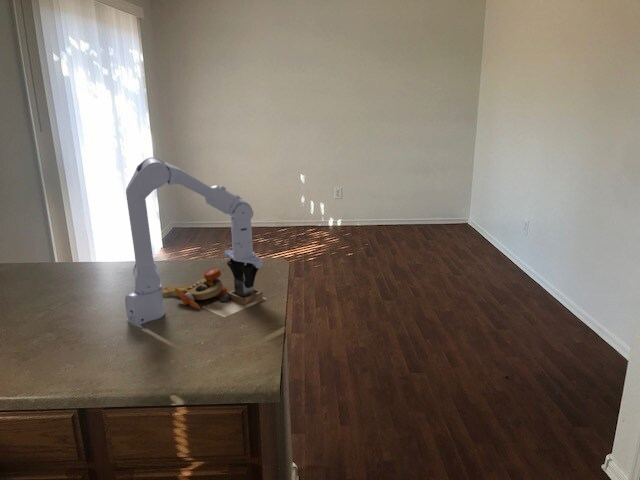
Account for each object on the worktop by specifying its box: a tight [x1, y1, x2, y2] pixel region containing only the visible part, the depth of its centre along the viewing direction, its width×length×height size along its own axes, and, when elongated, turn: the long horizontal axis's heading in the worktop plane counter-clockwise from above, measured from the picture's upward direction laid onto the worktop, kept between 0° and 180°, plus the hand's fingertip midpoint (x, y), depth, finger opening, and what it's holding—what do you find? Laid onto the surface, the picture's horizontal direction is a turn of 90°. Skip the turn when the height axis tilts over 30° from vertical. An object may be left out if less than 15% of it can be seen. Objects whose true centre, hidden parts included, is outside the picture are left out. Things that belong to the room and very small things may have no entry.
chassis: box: [201, 288, 268, 318], centre depth 148 cm, size 16×10×3 cm, turn 139°
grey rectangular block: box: [233, 274, 255, 298], centre depth 150 cm, size 4×4×6 cm
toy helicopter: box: [162, 267, 228, 310], centre depth 151 cm, size 8×21×14 cm
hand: (244, 284), depth 150 cm, fingers closed on grey rectangular block, 4 cm apart
